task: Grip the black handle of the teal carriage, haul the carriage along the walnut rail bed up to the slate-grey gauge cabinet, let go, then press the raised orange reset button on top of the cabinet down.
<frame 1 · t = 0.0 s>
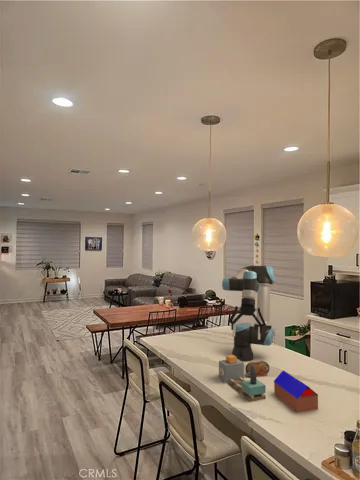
hand: (246, 338, 170), 28 cm above the kitchen island, tool tilted 20°, fingers open, 13 cm apart
reset button: (231, 358, 183), point 12 cm above the kitchen island, slide at 0.0 cm
rail bed: (246, 390, 168), on the kitchen island
carriage: (253, 378, 162), point 9 cm above the kitchen island, slide at 0.0 cm
tin: (257, 376, 188), on the kitchen island
house: (295, 401, 157), on the kitchen island
gauge cabinet: (231, 379, 183), on the kitchen island
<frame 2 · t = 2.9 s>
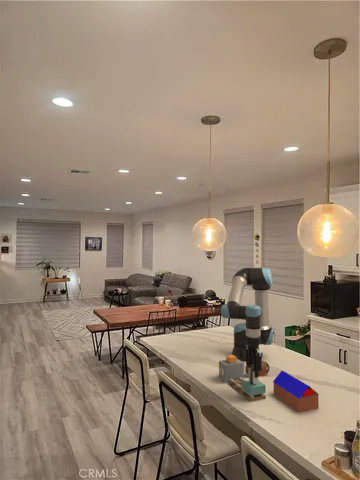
hand: (253, 381, 162), 8 cm above the kitchen island, tool pointing down, fingers closed on carriage, 3 cm apart
carriage: (253, 378, 162), point 9 cm above the kitchen island, slide at 0.0 cm, touching gripper
everything else where it was.
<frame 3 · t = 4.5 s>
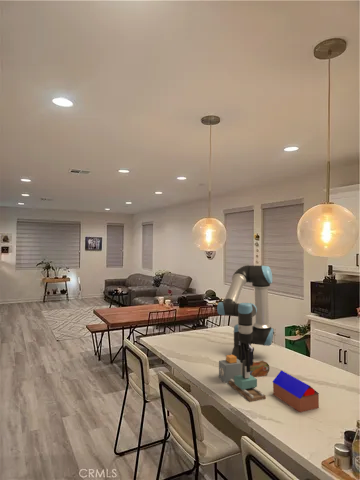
hand: (245, 376, 169), 8 cm above the kitchen island, tool pointing down, fingers closed on carriage, 3 cm apart
carriage: (245, 372, 169), point 9 cm above the kitchen island, slide at 7.6 cm, touching gripper
everything else where it was.
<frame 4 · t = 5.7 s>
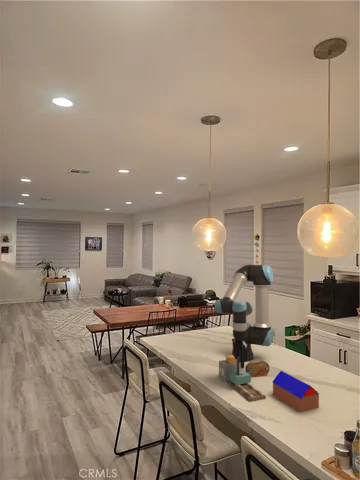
hand: (239, 372, 174), 8 cm above the kitchen island, tool pointing down, fingers closed on carriage, 3 cm apart
carriage: (239, 368, 174), point 9 cm above the kitchen island, slide at 13.4 cm, touching gripper
everything else where it was.
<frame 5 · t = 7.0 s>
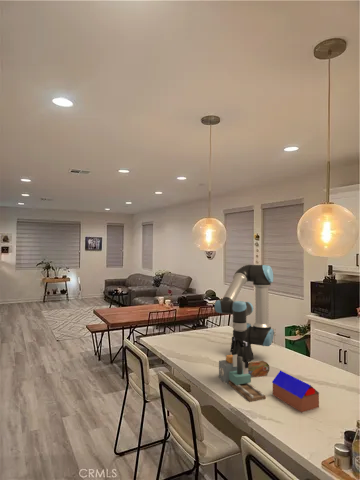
hand: (240, 369, 174), 9 cm above the kitchen island, tool pointing down, fingers open, 10 cm apart
carriage: (239, 368, 174), point 9 cm above the kitchen island, slide at 13.5 cm
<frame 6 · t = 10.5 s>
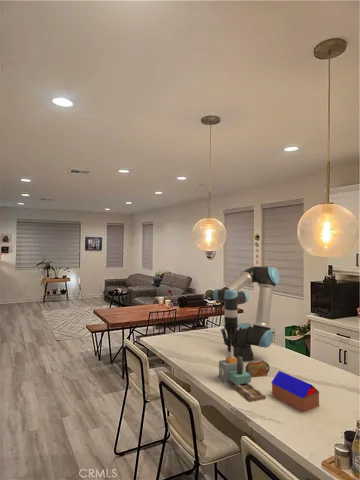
hand: (231, 357, 183), 13 cm above the kitchen island, tool pointing down, fingers closed
reset button: (231, 360, 183), point 11 cm above the kitchen island, slide at 0.7 cm, touching gripper
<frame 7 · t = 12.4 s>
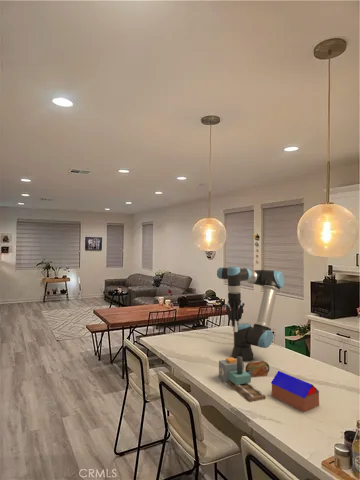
hand: (235, 331, 190), 26 cm above the kitchen island, tool pointing down, fingers closed
reset button: (231, 361, 183), point 10 cm above the kitchen island, slide at 1.6 cm
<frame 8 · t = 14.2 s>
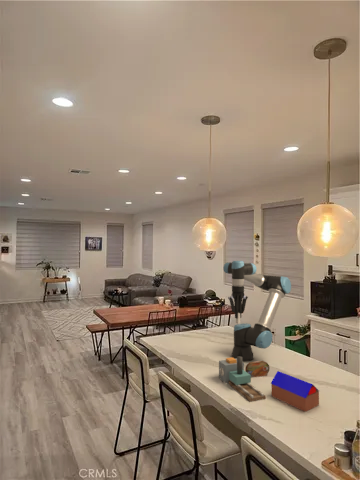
hand: (238, 323, 196), 29 cm above the kitchen island, tool pointing down, fingers closed
at the end: carriage slide at 13.5 cm; reset button slide at 1.6 cm; the gripper is holding nothing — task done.
